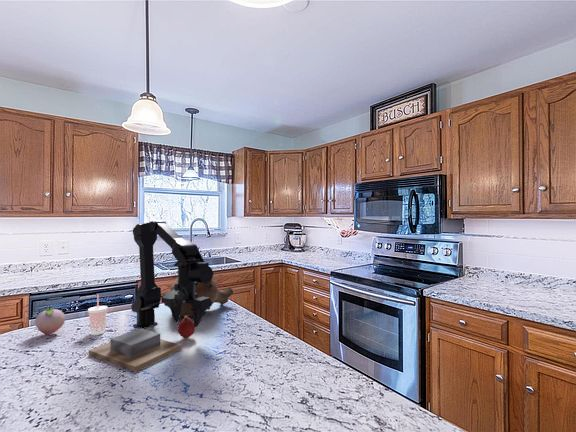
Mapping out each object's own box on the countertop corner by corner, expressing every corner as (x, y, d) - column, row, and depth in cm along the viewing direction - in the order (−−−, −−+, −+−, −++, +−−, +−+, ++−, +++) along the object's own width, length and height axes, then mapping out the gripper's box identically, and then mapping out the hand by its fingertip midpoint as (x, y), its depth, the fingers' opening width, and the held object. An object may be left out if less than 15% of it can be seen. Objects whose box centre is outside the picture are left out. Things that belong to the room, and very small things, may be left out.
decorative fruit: (68, 334, 108) (68, 306, 108) (39, 341, 102) (39, 312, 102) (61, 328, 114) (61, 301, 114) (33, 334, 108) (33, 306, 108)
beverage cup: (104, 334, 108) (104, 295, 108) (84, 336, 106) (85, 297, 106) (109, 328, 114) (110, 291, 114) (91, 330, 112) (91, 292, 112)
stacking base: (88, 355, 92) (88, 338, 92) (136, 336, 106) (136, 322, 106) (135, 372, 82) (135, 353, 82) (181, 349, 96) (181, 333, 96)
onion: (197, 335, 107) (197, 313, 107) (190, 342, 101) (191, 318, 101) (182, 335, 108) (182, 312, 108) (174, 341, 102) (174, 318, 102)
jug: (173, 326, 116) (236, 321, 138) (186, 277, 116) (247, 279, 137) (154, 305, 131) (213, 303, 152) (166, 261, 130) (223, 265, 152)
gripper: (148, 281, 102) (148, 327, 102) (188, 287, 93) (188, 338, 93) (174, 276, 112) (174, 318, 112) (213, 281, 103) (212, 326, 103)
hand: (186, 324), depth 105 cm, fingers open, 9 cm apart
